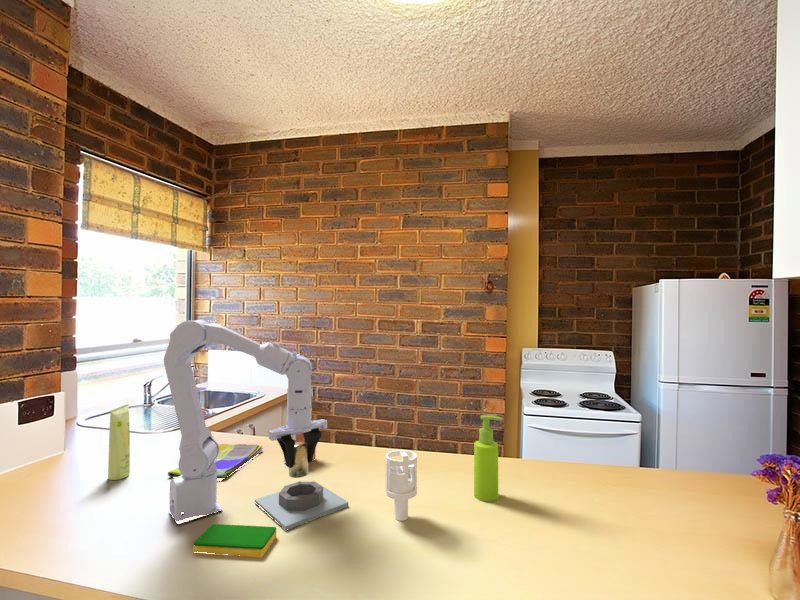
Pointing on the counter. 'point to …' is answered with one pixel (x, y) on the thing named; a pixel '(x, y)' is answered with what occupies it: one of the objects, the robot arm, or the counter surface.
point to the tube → (119, 443)
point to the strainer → (401, 481)
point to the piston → (299, 460)
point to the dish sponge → (236, 540)
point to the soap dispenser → (486, 462)
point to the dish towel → (229, 458)
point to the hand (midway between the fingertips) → (299, 463)
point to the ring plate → (301, 515)
